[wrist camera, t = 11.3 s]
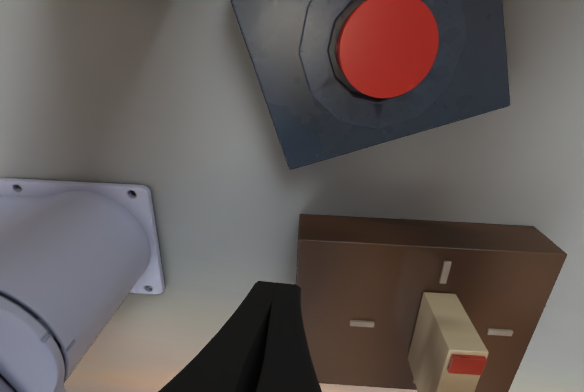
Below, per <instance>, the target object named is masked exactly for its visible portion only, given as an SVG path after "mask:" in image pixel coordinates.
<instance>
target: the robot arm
mask: <svg viewBox="0 0 584 392" xmlns="http://www.w3.org/2000/svg"><path fill="white" fill-rule="evenodd" d="M18 185H19V186H20V187H21V189H22V190H21V189H20V188H19V187H18ZM131 190H132V191H134V192H135V193H136V196H134V195H133V194H131ZM148 286H150V287H152V288H149V287H148ZM164 289H165V283H164V277H163V270H162V263H161V257H160V250H159V243H158V237H157V230H156V223H155V217H154V210H153V203H152V197H151V192H150V190H149V188H148V187H146V186H144V185H134V184H114V183H95V182H75V181H55V180H35V179H15V178H0V392H66V390H65V388H64V382H65V381H66V380H67V378H68V377H69V375H70V374H71V373H72V371H73V370H74V368H75V367H76V366H77V364H78V363H79V361H80V360H81V359H82V357H83V356H84V355H85V353H86V352H87V350H88V349H89V348H90V346H91V345H92V343H93V342H94V341H95V339H96V338H97V337H98V335H99V334H100V332H101V331H102V330H103V328H104V327H105V325H106V324H107V323H108V321H109V320H110V319H111V317H112V316H113V314H114V313H115V312H116V310H117V309H118V307H119V306H120V305H121V303H122V302H123V300H124V299H125V298H126V296H127V295H128V294H129V293H140V294H156V295H157V294H161V293H162V292H163V291H164ZM158 392H322V391H321V388H320V385H319V382H318V379H317V376H316V373H315V369H314V366H313V362H312V359H311V355H310V352H309V348H308V343H307V339H306V334H305V330H304V325H303V319H302V311H301V288H300V287H299V286H298V285H292V284H283V283H273V282H264V281H258V282H257V283H255V285H254V286H253V288H252V289H251V291H250V292H249V293H248V295H247V296H246V298H245V299H244V300H243V302H242V303H241V305H240V306H239V307H238V308H237V310H236V311H235V312H234V314H233V315H232V316H231V317H230V318H229V320H228V321H227V322H226V323H225V325H224V326H223V327H222V328H221V329H220V331H219V332H218V333H217V334H216V335H215V336H214V337H213V338H212V339H211V341H210V342H209V343H208V344H207V345H206V346H205V347H204V348H203V349H202V350H201V351H200V353H199V354H198V355H197V356H196V357H195V358H194V359H193V360H192V361H191V362H190V363H189V364H188V365H187V366H186V367H185V368H184V369H183V370H182V371H181V372H179V373H178V374H177V375H176V376H175V377H174V378H173V379H172V380H171V381H170V382H169V383H168V384H166V385H165V386H164V387H163V388H162V389H161V390H160V391H158Z"/></svg>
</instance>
